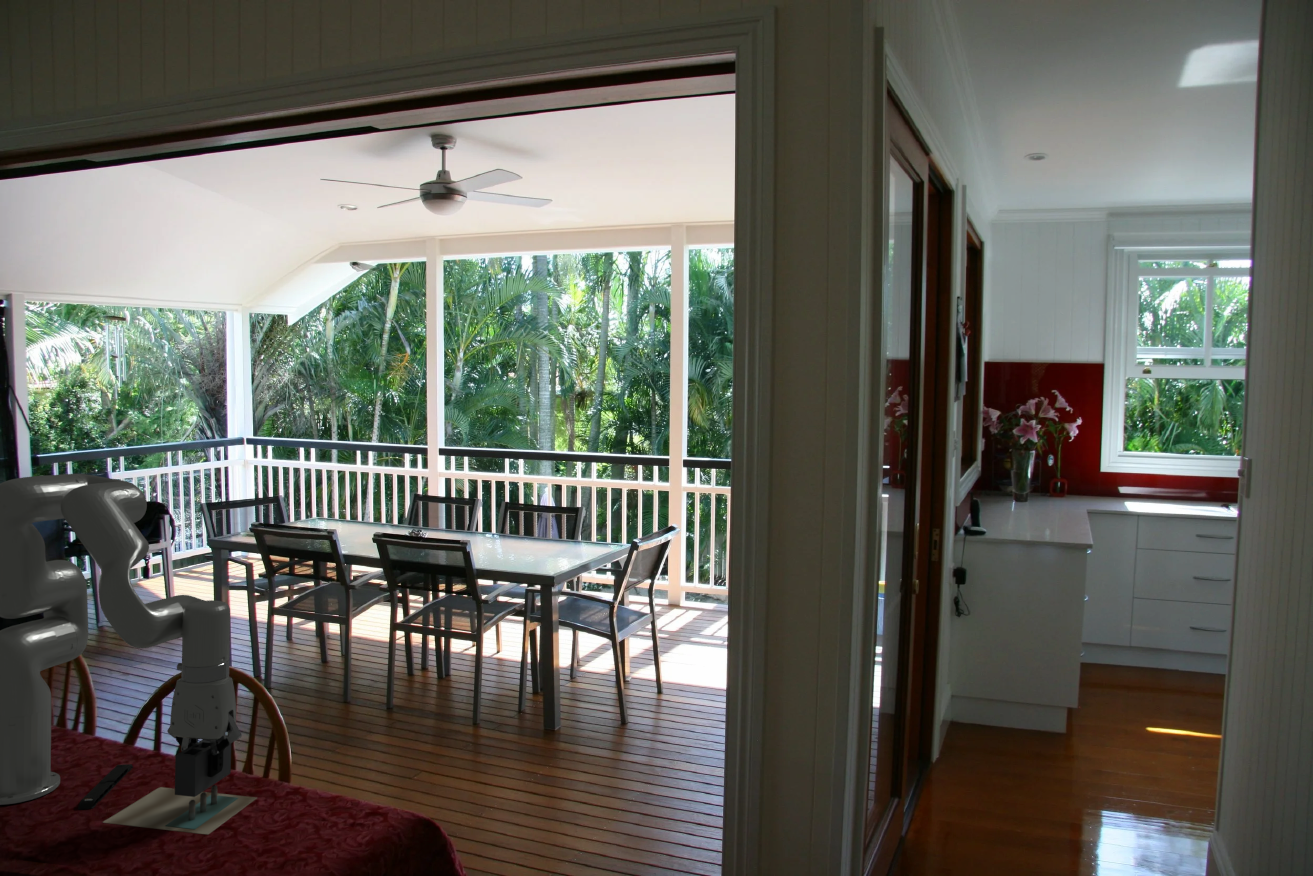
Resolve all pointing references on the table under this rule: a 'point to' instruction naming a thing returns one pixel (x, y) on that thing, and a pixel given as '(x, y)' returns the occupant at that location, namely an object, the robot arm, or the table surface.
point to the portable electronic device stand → (104, 787)
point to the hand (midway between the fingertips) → (203, 771)
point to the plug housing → (198, 769)
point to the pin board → (181, 811)
